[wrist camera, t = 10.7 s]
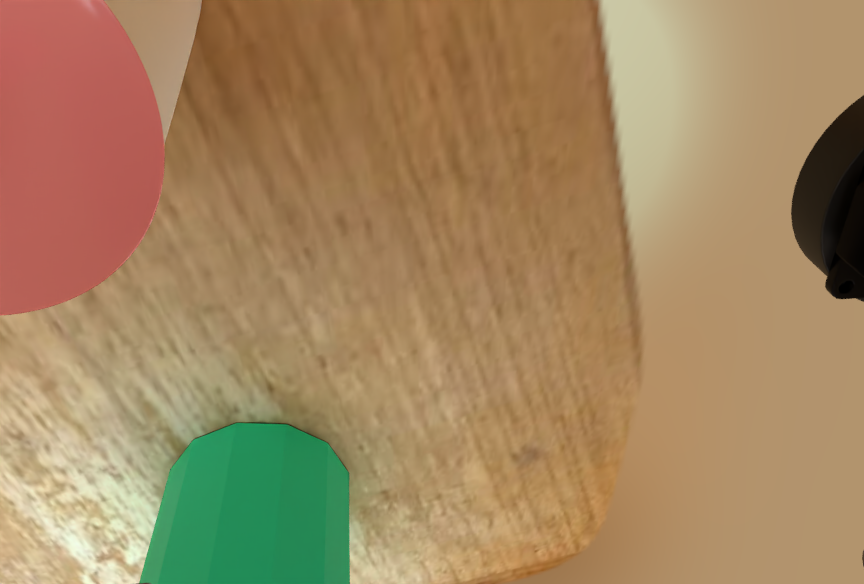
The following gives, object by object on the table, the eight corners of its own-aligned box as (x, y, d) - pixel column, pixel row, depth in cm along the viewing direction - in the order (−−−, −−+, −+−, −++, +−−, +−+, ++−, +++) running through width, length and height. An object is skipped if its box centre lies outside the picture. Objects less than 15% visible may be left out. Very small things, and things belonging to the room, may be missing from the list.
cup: (233, -156, 15) (-11, -115, 5) (258, 105, 18) (141, 478, 7) (-49, -166, 14) (-1021, -147, 4) (24, 104, 17) (-440, 507, 7)
